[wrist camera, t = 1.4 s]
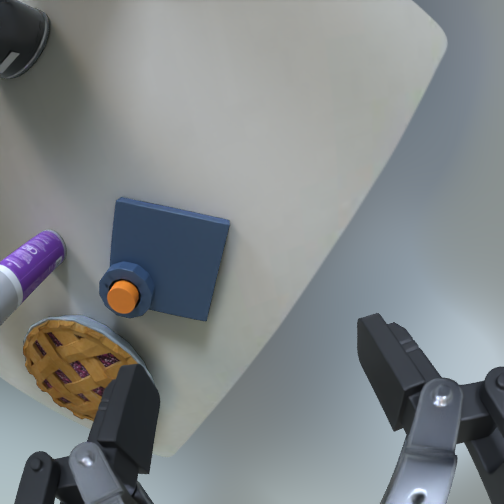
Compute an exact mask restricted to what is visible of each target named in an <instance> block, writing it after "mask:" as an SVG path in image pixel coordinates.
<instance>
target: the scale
mask: <svg viewBox="0 0 504 504" xmlns="http://www.w3.org/2000/svg"><path fill="white" fill-rule="evenodd" d="M229 226H230V221H229V220H226V219H222V218H217V217H213V216H208V215H204V214H199V213H195V212H190V211H185V210H181V209H176V208H172V207H167V206H162V205H157V204H153V203H148V202H143V201H138V200H133V199H128V198H123V197H121V198H119V199H118V200H116V205H115V213H114V222H113V232H112V243H111V256H110V268H109V269H108V270H107V272H106V273H105V274H104V276H103V277H102V279H101V280H100V282H99V294H100V296H101V298H102V300H103V302H104V304H105V306H106V307H107V308H108V309H110V310H111V311H112V312H114V313H115V314H116V315H118V316H122V317H126V318H134V317H138V316H142V315H143V314H144V313H145V312H146V311H147V310H148V309H150V310H154V311H158V312H163V313H167V314H172V315H176V316H181V317H186V318H191V319H196V320H201V321H207V317H208V313H209V309H210V304H211V300H212V296H213V291H214V287H215V283H216V279H217V275H218V271H219V266H220V262H221V258H222V254H223V250H224V246H225V242H226V238H227V234H228V230H229ZM119 280H126V281H129V282H131V283H132V284H134V285H135V286H136V288H137V290H138V292H139V299H138V301H137V303H136V305H135V308H134V309H133V310H132V311H131V312H130V313H126V314H122V313H118V312H116V311H115V310H113V309H112V308H111V307H110V305H109V303H108V300H107V295H108V292H109V291H110V289H111V288H112V286H113V285H114V283H115V282H117V281H119Z"/></svg>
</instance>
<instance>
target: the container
mask: <svg viewBox="0 0 504 504" xmlns="http://www.w3.org/2000/svg"><path fill="white" fill-rule="evenodd" d="M65 256H66V247H65V243H64V241H63V239H62V238H61V236H60V235H59V234H58V233H56V232H55V231H53V230H44V231H42V232H41V233H39V234H38V235H36V236H35V237H34V238H32V239H31V240H29V241H28V242H26V243H25V244H24V245H22V246H21V247H20V248H18V249H17V250H15V251H14V252H13V253H11V254H10V255H9V256H7V257H6V258H5V259H3V260H2V261H1V262H0V325H1V324H2V323H3V322H4V321H5V320H6V319H7V318H8V317H9V316H10V315H11V314H12V313H13V312H14V311H15V310H16V309H17V308H18V307H19V306H20V305H21V304H22V302H23V301H24V300H25V299H26V298H27V297H28V296H29V295H30V294H31V293H32V292H33V291H34V290H35V289H36V288H37V287H38V286H39V285H40V284H41V282H42V281H43V280H44V279H45V278H46V277H47V276H48V275H49V274H50V273H51V272H52V271H53V270H55V269H56V268H57V267H58V266H59V265H60V264H61V263H62V262H63V260H64V259H65Z"/></svg>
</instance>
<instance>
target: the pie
mask: <svg viewBox="0 0 504 504" xmlns="http://www.w3.org/2000/svg"><path fill="white" fill-rule="evenodd" d="M23 343H24V346H23V354H24V356H25V361H26V363H25V366H26V368H27V370H28V372H29V373H30V374H32V375H33V376H34V377H35V379H36V382H37V386H38V387H39V388H40V389H41V390H42V391H43V392H47V393H48V394H49V395H50V396H51V397H52V398H53V401H54V402H55V403H56V404H58V405H59V406H60V407H66V408H67V409H69V410H70V411H72V412H73V414H74V415H75V416H76V417H78V418H80V419H84V418H87V419H89V420H92V421H93V422H94V419H95V416H96V413H97V410H98V407H99V404H100V402H101V398H102V395H103V393H104V390H105V388H106V387H107V386H108V384H109V383H110V382H111V381H112V379H116V377H117V374H118V371H119V369H120V367H121V366H122V365H131V364H141V365H142V366H143V367H144V369H145V370H146V372H147V374H148V375H149V377H150V379H151V380H152V382H153V384H154V381H153V378H152V375H151V374H150V373H149V372H148V370H147V368H146V365H145V362H144V361H143V360H142V359H141V358H140V356H139V355H138V354H137V353H136V351H135V350H134V349H133V348H132V346H131V345H130V344H129V343H128V342H127V341H126V340H124V339H123V338H122V337H120V336H119V335H118V334H116V333H115V332H114V331H112V330H111V329H110V328H108V327H107V326H106V325H104V324H102V323H99V322H97V321H95V320H93V319H91V318H89V317H86V316H84V315H63V316H60V317H47V318H45V319H43V320H41V321H39V322H37V323H35V324H33V325H31V327H30V329H29V331H28V333H27V335H26V337H25V339H24V341H23ZM154 385H155V384H154Z"/></svg>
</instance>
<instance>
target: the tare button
mask: <svg viewBox="0 0 504 504" xmlns="http://www.w3.org/2000/svg"><path fill="white" fill-rule="evenodd" d="M138 299H139V292H138V290H137V288H136V286H135V285H134V284H132V283H131V282H129V281H126V280H119V281H117V282H115V283H114V285H113V286H112V288H111V289H110V291H109V292H108V295H107V300H108V303H109V305H110V307H111V308H112V309H113V310H115V311H116V312H118V313H122V314H126V313H130V312H131V311H132V310H133V309H134V308H135V305H136V303H137V301H138Z"/></svg>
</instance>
